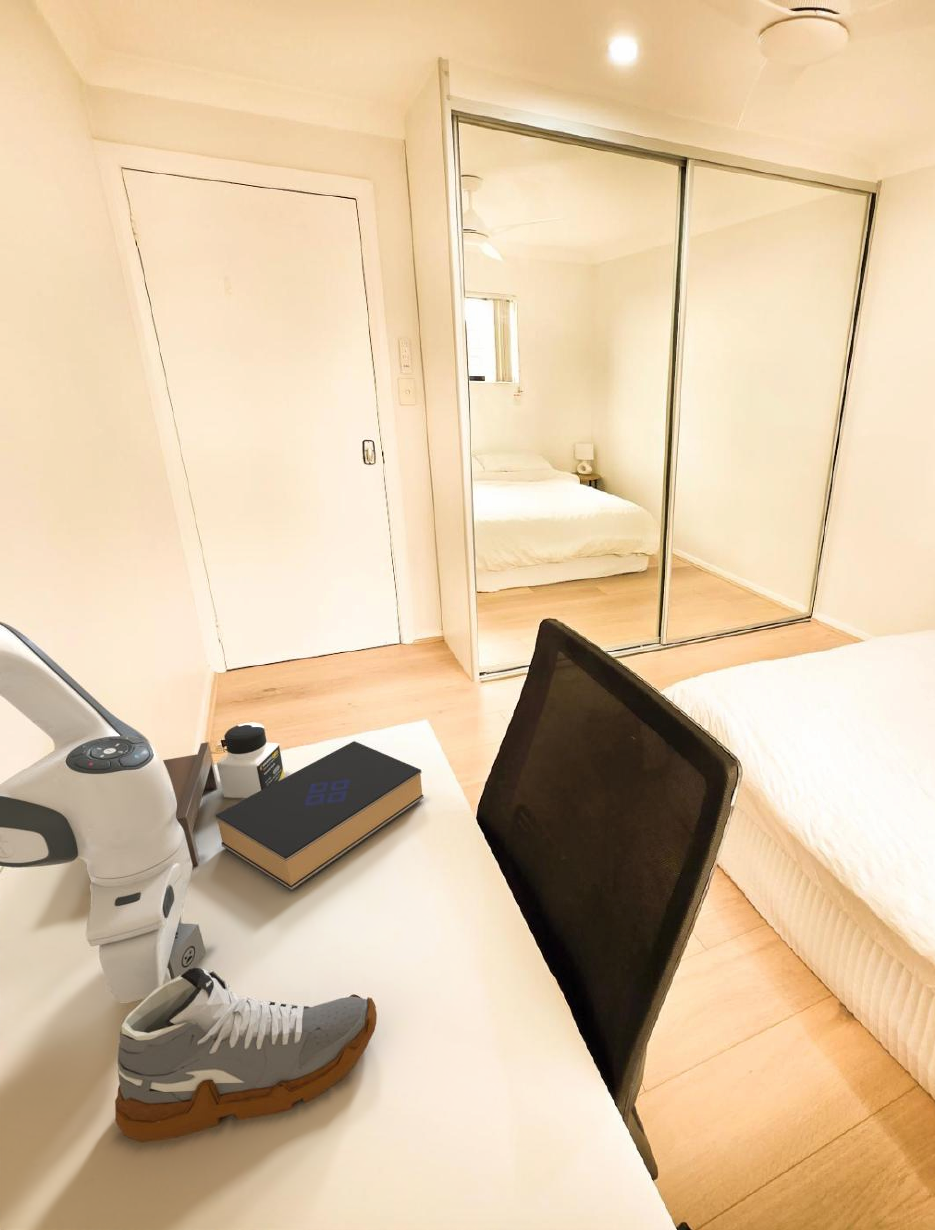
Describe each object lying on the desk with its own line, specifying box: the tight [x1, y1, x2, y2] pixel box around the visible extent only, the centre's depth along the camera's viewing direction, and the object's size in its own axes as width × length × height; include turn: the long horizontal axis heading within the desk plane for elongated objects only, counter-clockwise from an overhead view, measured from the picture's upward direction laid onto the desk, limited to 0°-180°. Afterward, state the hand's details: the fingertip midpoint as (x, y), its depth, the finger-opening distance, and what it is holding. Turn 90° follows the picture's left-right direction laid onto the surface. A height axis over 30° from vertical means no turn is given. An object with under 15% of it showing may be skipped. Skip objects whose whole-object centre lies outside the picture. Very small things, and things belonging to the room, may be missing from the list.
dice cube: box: [167, 922, 207, 980], centre depth 73 cm, size 5×5×5 cm
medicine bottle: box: [216, 722, 285, 799], centre depth 107 cm, size 7×7×12 cm
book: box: [214, 740, 425, 891], centre depth 99 cm, size 17×25×7 cm
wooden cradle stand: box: [162, 741, 219, 868], centre depth 96 cm, size 12×22×9 cm, turn 25°
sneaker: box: [114, 967, 378, 1143], centre depth 61 cm, size 9×24×15 cm, turn 107°
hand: (169, 960), depth 74 cm, fingers closed on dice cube, 5 cm apart
